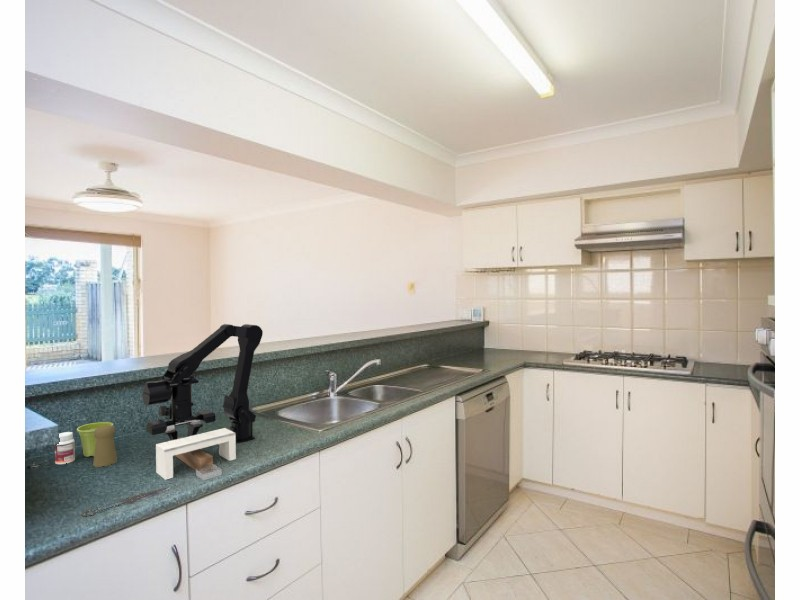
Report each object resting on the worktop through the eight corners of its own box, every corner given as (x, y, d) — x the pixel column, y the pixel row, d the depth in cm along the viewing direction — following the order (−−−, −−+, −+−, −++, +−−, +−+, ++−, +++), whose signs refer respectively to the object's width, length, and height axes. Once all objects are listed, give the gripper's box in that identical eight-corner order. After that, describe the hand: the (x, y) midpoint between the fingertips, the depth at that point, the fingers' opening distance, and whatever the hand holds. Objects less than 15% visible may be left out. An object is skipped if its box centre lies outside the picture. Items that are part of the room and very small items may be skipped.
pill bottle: (58, 459, 134) (57, 432, 134) (77, 457, 136) (76, 430, 136) (52, 465, 130) (51, 437, 130) (71, 463, 131) (71, 435, 131)
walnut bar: (180, 449, 143) (180, 437, 143) (212, 470, 127) (212, 456, 127) (168, 452, 141) (168, 439, 141) (200, 473, 124) (200, 459, 124)
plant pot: (104, 446, 146) (103, 420, 146) (119, 451, 141) (119, 424, 141) (71, 455, 138) (71, 427, 138) (86, 461, 133) (86, 432, 133)
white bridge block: (225, 453, 139) (224, 427, 139) (235, 458, 135) (235, 432, 134) (156, 472, 125) (155, 444, 125) (165, 479, 120) (164, 450, 120)
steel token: (213, 471, 127) (213, 464, 127) (221, 476, 123) (221, 468, 123) (195, 476, 123) (195, 469, 123) (203, 481, 120) (203, 474, 120)
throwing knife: (79, 513, 103) (79, 511, 103) (170, 485, 117) (170, 483, 117) (84, 520, 100) (84, 517, 100) (177, 490, 114) (177, 488, 114)
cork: (113, 457, 136) (112, 422, 136) (120, 462, 132) (119, 425, 132) (90, 463, 131) (89, 426, 131) (97, 468, 128) (96, 430, 127)
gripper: (201, 390, 149) (201, 435, 150) (139, 400, 136) (140, 450, 136) (215, 395, 142) (216, 443, 142) (152, 407, 128) (153, 460, 129)
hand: (182, 449), depth 137 cm, fingers closed on walnut bar, 3 cm apart
